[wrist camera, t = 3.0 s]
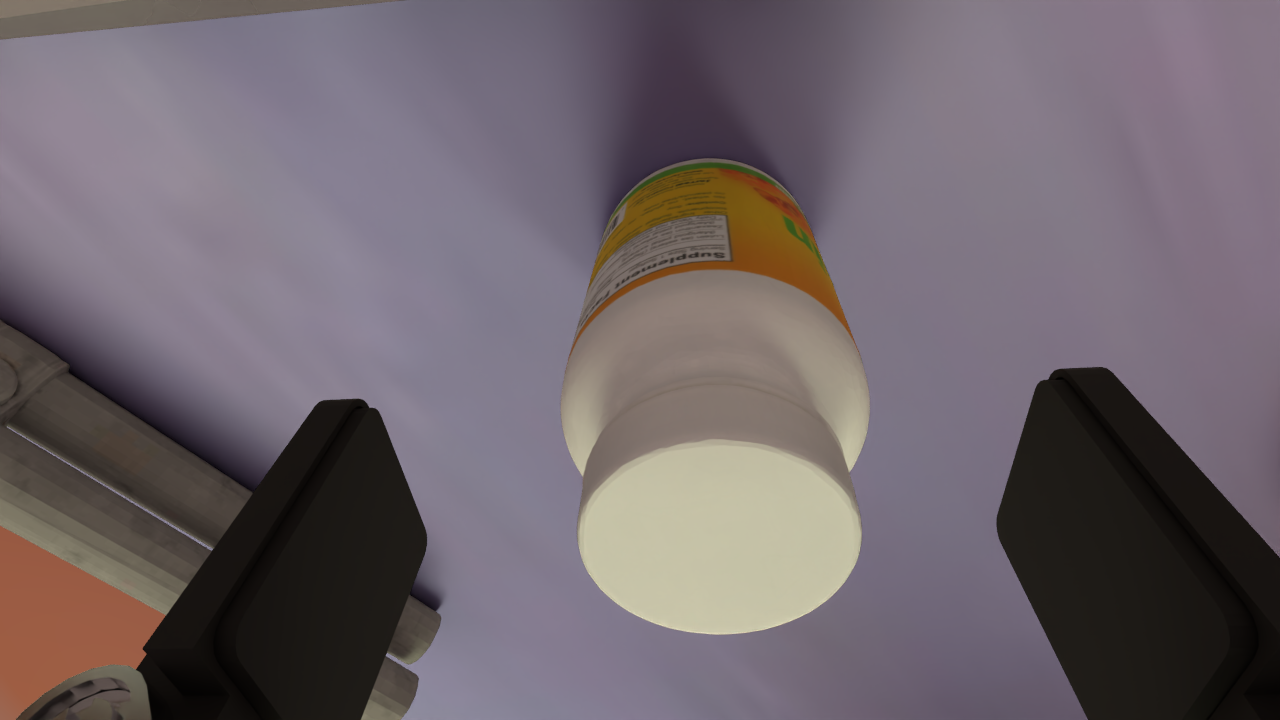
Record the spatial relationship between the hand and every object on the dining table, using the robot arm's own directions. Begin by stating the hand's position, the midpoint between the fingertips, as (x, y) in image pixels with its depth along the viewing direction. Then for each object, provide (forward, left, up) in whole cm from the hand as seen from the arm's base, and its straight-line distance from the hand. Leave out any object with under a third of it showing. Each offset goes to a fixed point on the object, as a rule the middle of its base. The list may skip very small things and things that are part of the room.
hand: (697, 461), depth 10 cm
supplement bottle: (-1, 0, -9) cm, 9 cm away
